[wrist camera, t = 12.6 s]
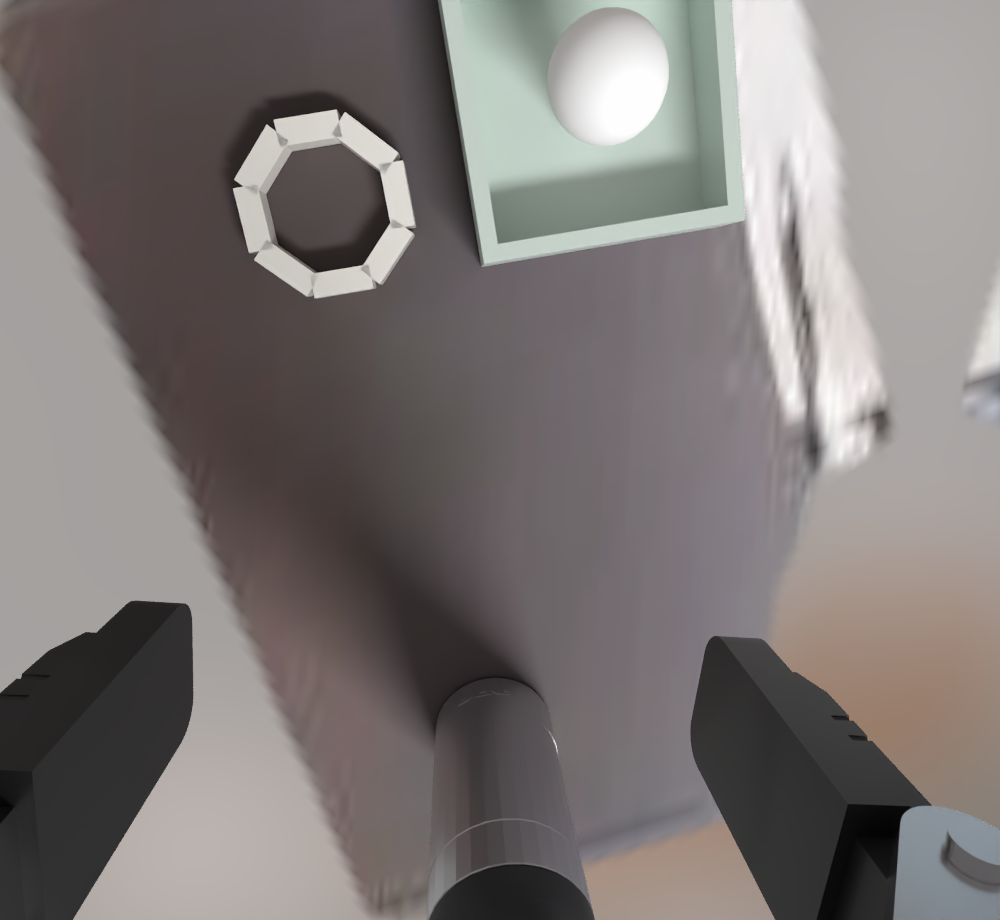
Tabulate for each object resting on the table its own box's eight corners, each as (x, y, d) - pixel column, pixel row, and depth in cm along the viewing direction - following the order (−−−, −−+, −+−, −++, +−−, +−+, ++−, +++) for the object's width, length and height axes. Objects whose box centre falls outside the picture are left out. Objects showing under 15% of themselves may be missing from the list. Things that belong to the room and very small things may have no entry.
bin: (716, 227, 44) (745, 219, 39) (481, 267, 43) (484, 264, 39) (696, -48, 40) (726, -90, 35) (436, -7, 39) (434, -44, 35)
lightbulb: (515, 84, 40) (539, 12, 29) (608, 48, 40) (666, -38, 29) (548, 185, 42) (581, 150, 31) (637, 150, 42) (702, 103, 31)
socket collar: (426, 280, 43) (425, 279, 42) (269, 306, 43) (262, 307, 42) (394, 107, 41) (391, 100, 39) (227, 135, 40) (217, 128, 39)
